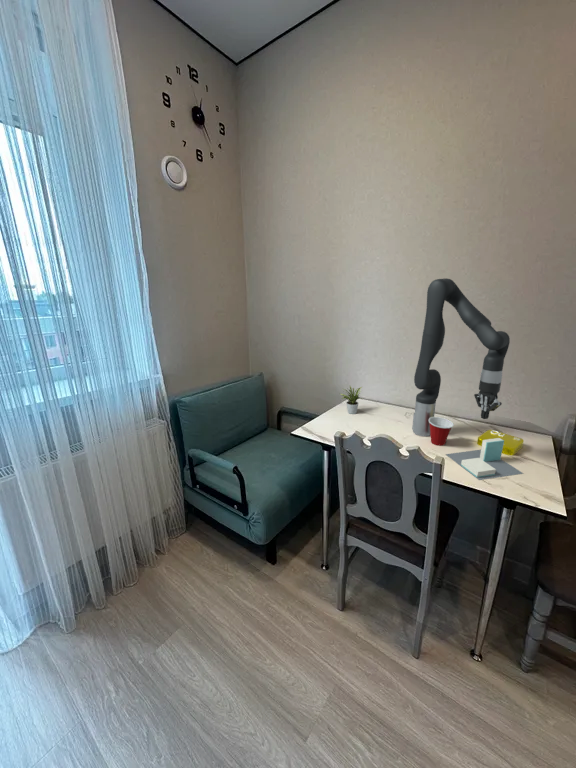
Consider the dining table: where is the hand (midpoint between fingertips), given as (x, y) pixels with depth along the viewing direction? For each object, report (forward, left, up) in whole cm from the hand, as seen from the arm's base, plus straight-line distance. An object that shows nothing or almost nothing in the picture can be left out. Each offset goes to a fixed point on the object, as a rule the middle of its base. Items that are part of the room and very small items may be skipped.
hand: (484, 418), depth 137 cm
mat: (+8, -5, -17) cm, 20 cm away
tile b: (+6, 0, -16) cm, 18 cm away
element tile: (-3, +14, -18) cm, 23 cm away
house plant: (-60, -36, -17) cm, 72 cm away
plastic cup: (-12, -12, -17) cm, 24 cm away
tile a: (+8, -11, -15) cm, 20 cm away
